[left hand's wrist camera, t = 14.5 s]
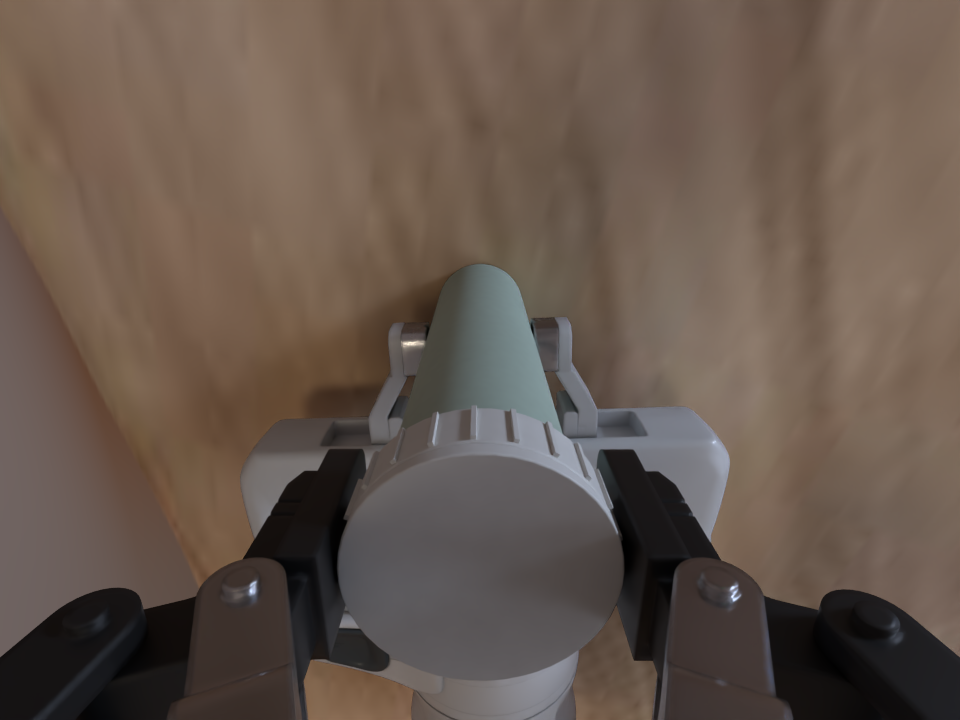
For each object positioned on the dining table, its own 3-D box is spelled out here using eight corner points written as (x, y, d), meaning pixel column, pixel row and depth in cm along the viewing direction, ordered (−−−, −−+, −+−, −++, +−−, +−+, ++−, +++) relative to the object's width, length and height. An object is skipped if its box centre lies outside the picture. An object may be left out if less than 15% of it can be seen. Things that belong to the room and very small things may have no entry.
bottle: (521, 261, 26) (599, 456, 9) (522, 342, 28) (592, 642, 11) (435, 265, 26) (351, 467, 9) (441, 346, 28) (380, 649, 11)
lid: (611, 396, 10) (636, 441, 8) (602, 610, 12) (621, 680, 10) (337, 408, 10) (310, 455, 8) (370, 618, 12) (353, 689, 10)
